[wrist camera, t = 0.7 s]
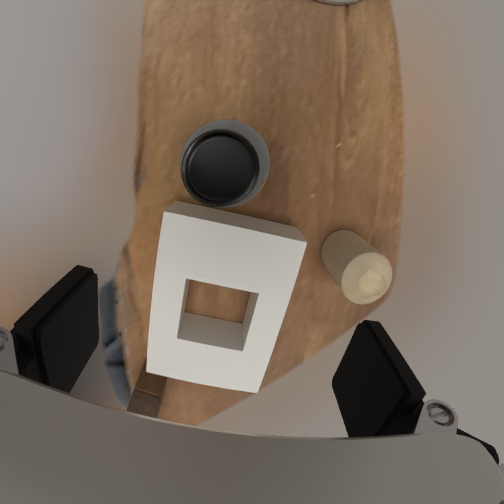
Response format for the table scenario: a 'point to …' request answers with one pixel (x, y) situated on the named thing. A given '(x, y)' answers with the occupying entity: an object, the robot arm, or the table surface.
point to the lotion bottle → (224, 163)
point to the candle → (356, 266)
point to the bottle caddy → (228, 275)
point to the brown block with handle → (147, 394)
